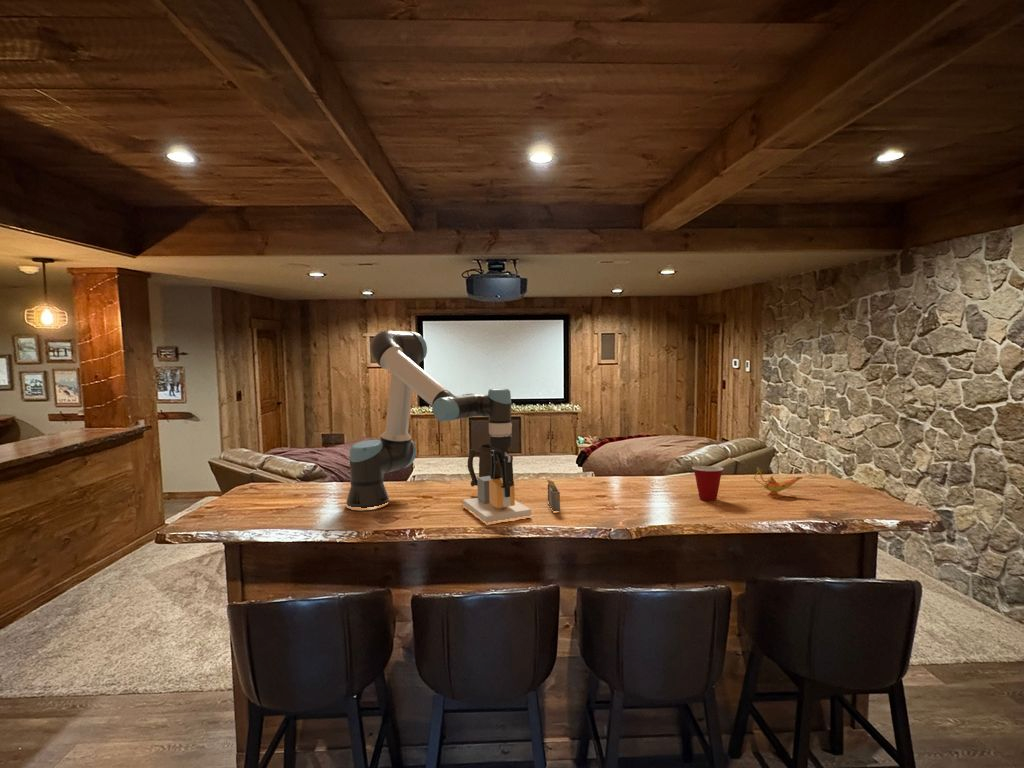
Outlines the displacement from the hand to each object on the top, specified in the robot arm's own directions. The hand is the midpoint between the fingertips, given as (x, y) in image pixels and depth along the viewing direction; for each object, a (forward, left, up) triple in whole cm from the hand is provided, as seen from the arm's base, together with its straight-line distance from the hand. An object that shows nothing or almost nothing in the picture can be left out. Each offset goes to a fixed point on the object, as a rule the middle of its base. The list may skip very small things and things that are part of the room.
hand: (502, 503), depth 172 cm
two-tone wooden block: (0, 0, 0) cm, 0 cm away
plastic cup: (+16, +75, -5) cm, 77 cm away
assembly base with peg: (-6, 0, -5) cm, 7 cm away
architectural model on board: (-1, +20, -5) cm, 21 cm away
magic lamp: (+25, +101, -5) cm, 104 cm away
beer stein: (-29, +6, -5) cm, 30 cm away
